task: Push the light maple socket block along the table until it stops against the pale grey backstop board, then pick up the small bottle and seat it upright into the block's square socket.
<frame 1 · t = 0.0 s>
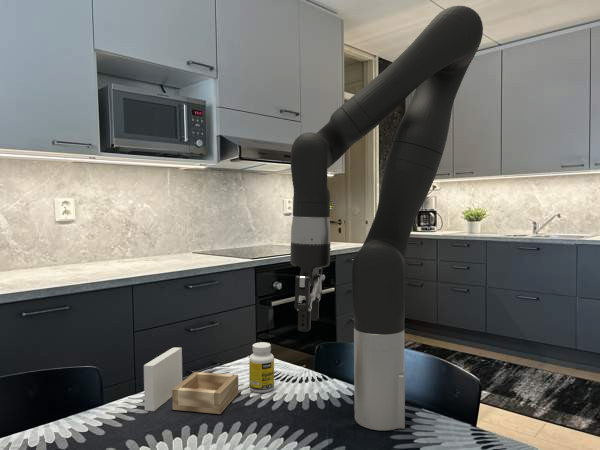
hand: (308, 325, 88), 17 cm above the table, tool pointing down, fingers open, 8 cm apart
backstop board: (164, 398, 96), on the table
supplement bottle: (262, 389, 101), on the table
socket block: (206, 391, 94), point 2 cm above the table, slide at 0.0 cm
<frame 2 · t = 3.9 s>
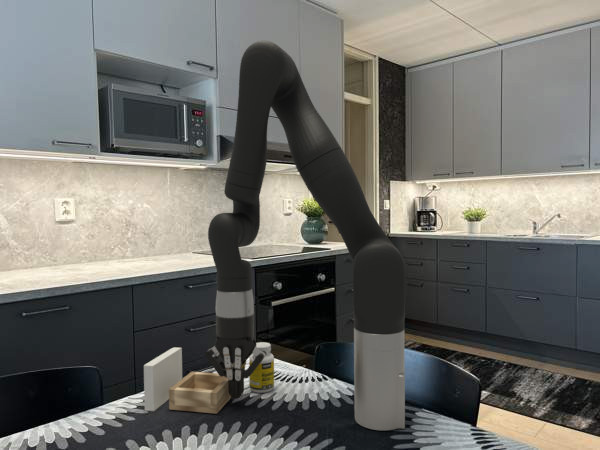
hand: (236, 396, 93), 2 cm above the table, tool pointing down, fingers closed
socket block: (203, 391, 94), point 2 cm above the table, slide at 0.7 cm, touching gripper
everything else where it was.
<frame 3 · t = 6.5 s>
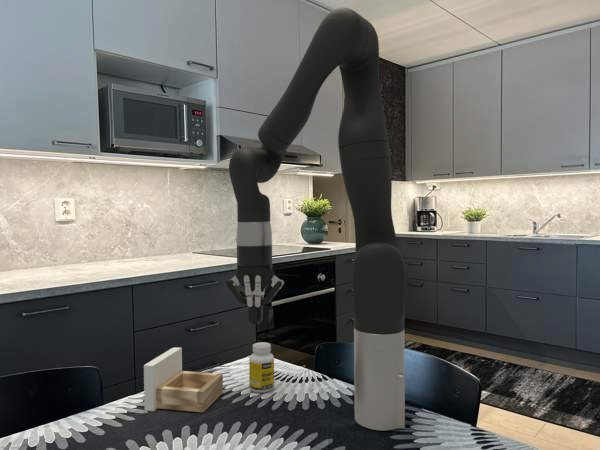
hand: (255, 323, 99), 15 cm above the table, tool pointing down, fingers closed
socket block: (190, 390, 95), point 2 cm above the table, slide at 3.5 cm
everything else where it was.
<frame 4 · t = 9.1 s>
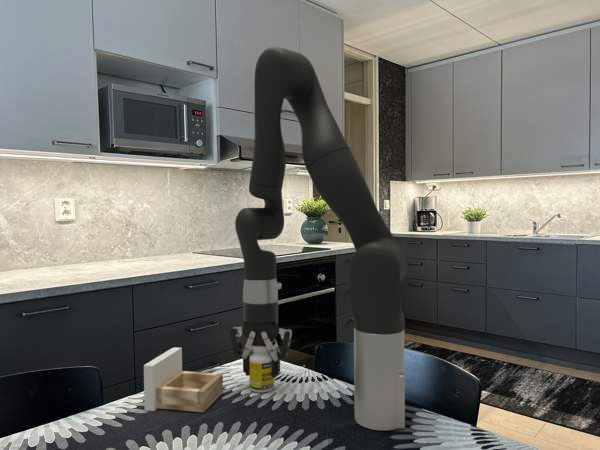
hand: (261, 375, 101), 3 cm above the table, tool pointing down, fingers closed on supplement bottle, 5 cm apart
supplement bottle: (262, 389, 101), on the table, touching gripper
everything else where it was.
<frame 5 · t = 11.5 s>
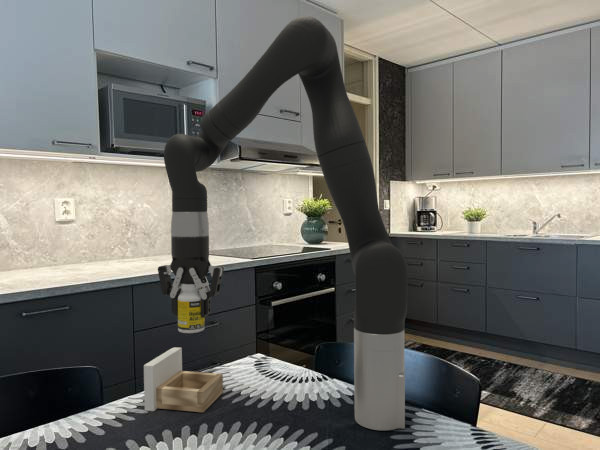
hand: (191, 315, 94), 18 cm above the table, tool pointing down, fingers closed on supplement bottle, 5 cm apart
supplement bottle: (191, 331, 94), point 14 cm above the table, touching gripper
everything else where it was.
when the fingers open (6 cm above the table, at t = 14.2 s): supplement bottle drops 2 cm, resting on socket block.
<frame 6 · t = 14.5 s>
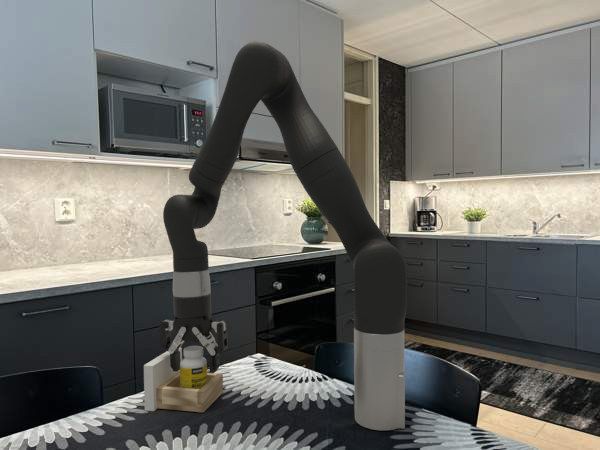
hand: (194, 371, 94), 6 cm above the table, tool pointing down, fingers open, 7 cm apart
supplement bottle: (193, 396, 95), point 1 cm above the table, touching socket block
socket block: (190, 390, 95), point 2 cm above the table, slide at 3.5 cm, touching supplement bottle
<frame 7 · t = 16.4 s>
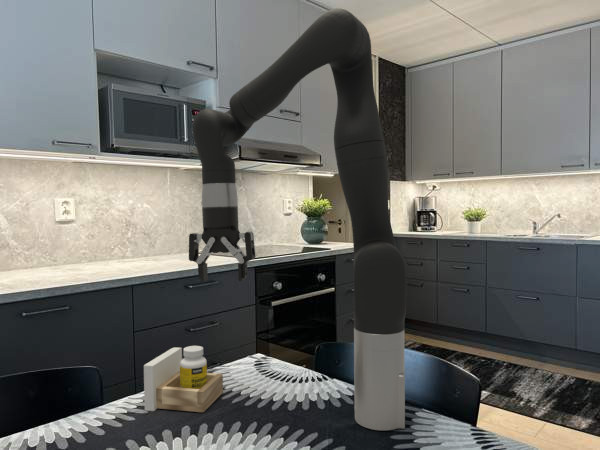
hand: (222, 280, 98), 24 cm above the table, tool pointing down, fingers open, 8 cm apart
nothing on the table moved.
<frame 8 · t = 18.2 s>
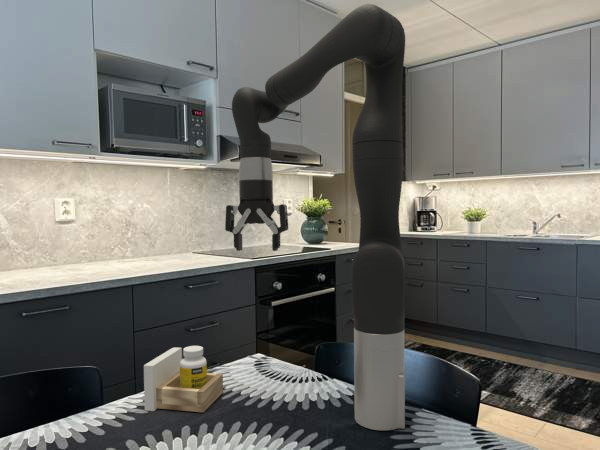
hand: (257, 250, 104), 30 cm above the table, tool pointing down, fingers open, 8 cm apart
nothing on the table moved.
at the end: socket block slide at 3.5 cm; supplement bottle 0.6 cm from the socket block (horizontally); supplement bottle tilted 0° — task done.
